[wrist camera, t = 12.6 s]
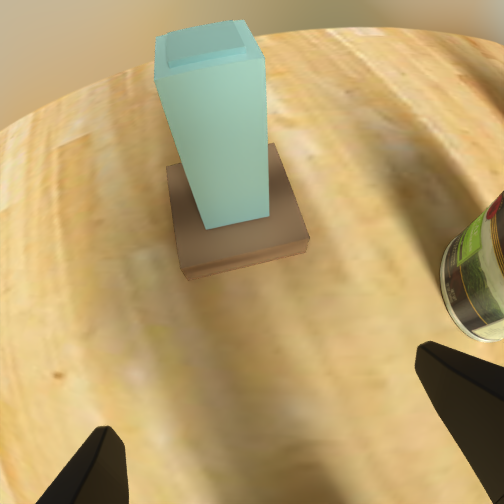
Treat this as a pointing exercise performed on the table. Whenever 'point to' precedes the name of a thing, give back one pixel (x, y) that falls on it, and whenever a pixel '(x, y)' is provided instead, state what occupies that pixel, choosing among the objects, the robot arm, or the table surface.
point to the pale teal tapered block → (217, 117)
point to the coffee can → (477, 276)
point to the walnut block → (236, 227)
